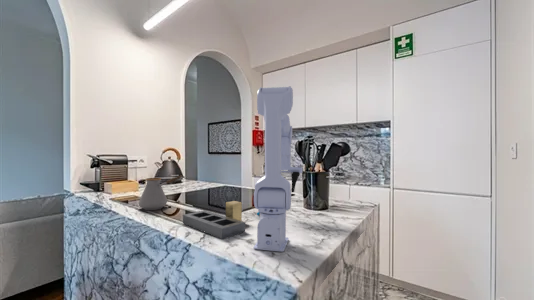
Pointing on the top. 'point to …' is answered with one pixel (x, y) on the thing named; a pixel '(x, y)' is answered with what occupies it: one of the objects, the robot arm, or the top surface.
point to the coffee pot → (154, 194)
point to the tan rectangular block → (234, 210)
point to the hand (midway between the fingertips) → (282, 191)
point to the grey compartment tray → (214, 224)
